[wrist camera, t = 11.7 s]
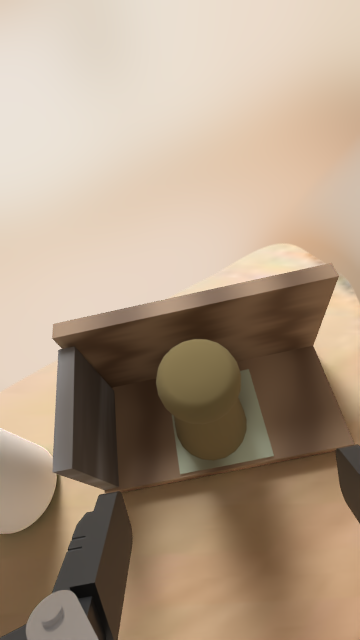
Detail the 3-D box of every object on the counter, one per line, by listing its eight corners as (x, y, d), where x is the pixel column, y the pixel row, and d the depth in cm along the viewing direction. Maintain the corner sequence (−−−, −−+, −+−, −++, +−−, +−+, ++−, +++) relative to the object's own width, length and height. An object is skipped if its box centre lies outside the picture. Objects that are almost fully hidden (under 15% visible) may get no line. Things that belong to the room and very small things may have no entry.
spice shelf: (110, 494, 29) (43, 473, 19) (106, 383, 34) (53, 324, 24) (349, 448, 28) (406, 401, 18) (305, 342, 33) (331, 263, 24)
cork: (252, 457, 27) (257, 416, 18) (176, 463, 27) (142, 426, 18) (241, 384, 30) (240, 318, 21) (173, 391, 31) (144, 329, 22)
